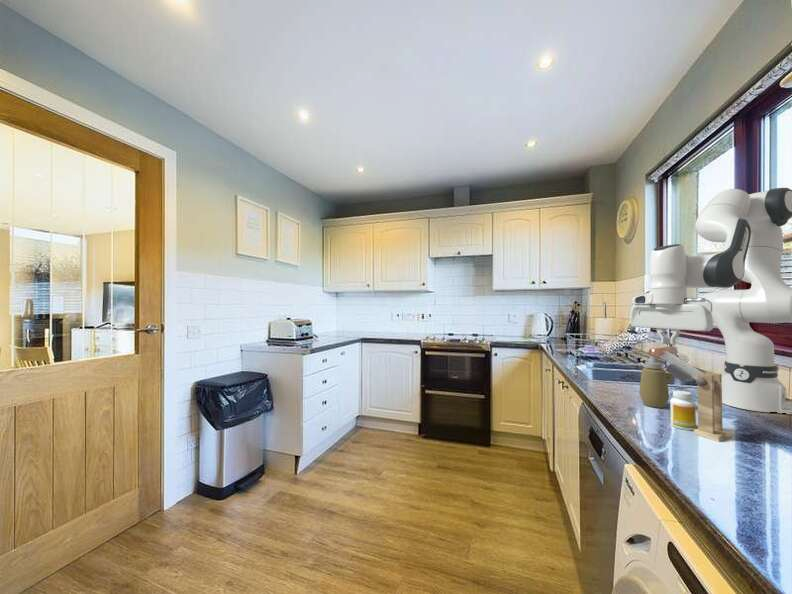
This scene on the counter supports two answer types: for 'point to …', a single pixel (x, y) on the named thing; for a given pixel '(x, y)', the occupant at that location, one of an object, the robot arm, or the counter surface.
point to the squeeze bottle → (654, 384)
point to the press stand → (710, 407)
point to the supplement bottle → (682, 411)
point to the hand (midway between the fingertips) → (668, 344)
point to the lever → (676, 364)
